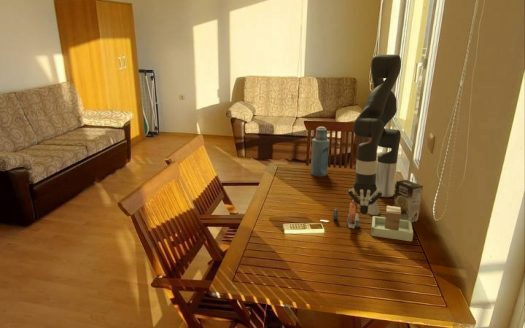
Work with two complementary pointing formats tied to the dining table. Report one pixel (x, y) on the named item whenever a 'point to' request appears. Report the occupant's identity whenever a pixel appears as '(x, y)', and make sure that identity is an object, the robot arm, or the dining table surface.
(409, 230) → the tray
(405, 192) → the coffee box
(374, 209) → the flask
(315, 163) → the bottle
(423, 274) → the dining table surface
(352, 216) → the crank
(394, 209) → the block
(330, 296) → the dining table surface
